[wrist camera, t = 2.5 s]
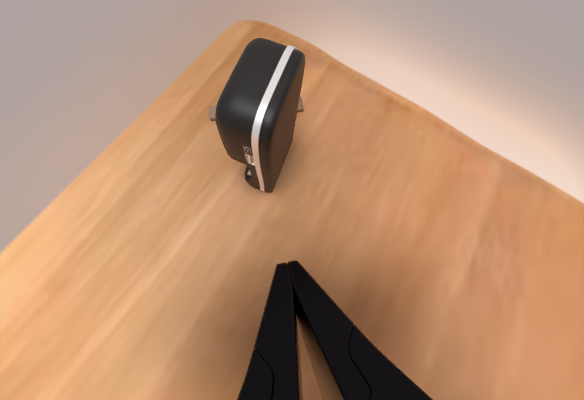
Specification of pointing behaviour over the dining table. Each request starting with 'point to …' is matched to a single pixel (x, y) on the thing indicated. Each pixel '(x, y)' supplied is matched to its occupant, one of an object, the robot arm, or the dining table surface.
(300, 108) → the walnut strip
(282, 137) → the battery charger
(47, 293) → the dining table surface
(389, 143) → the dining table surface
